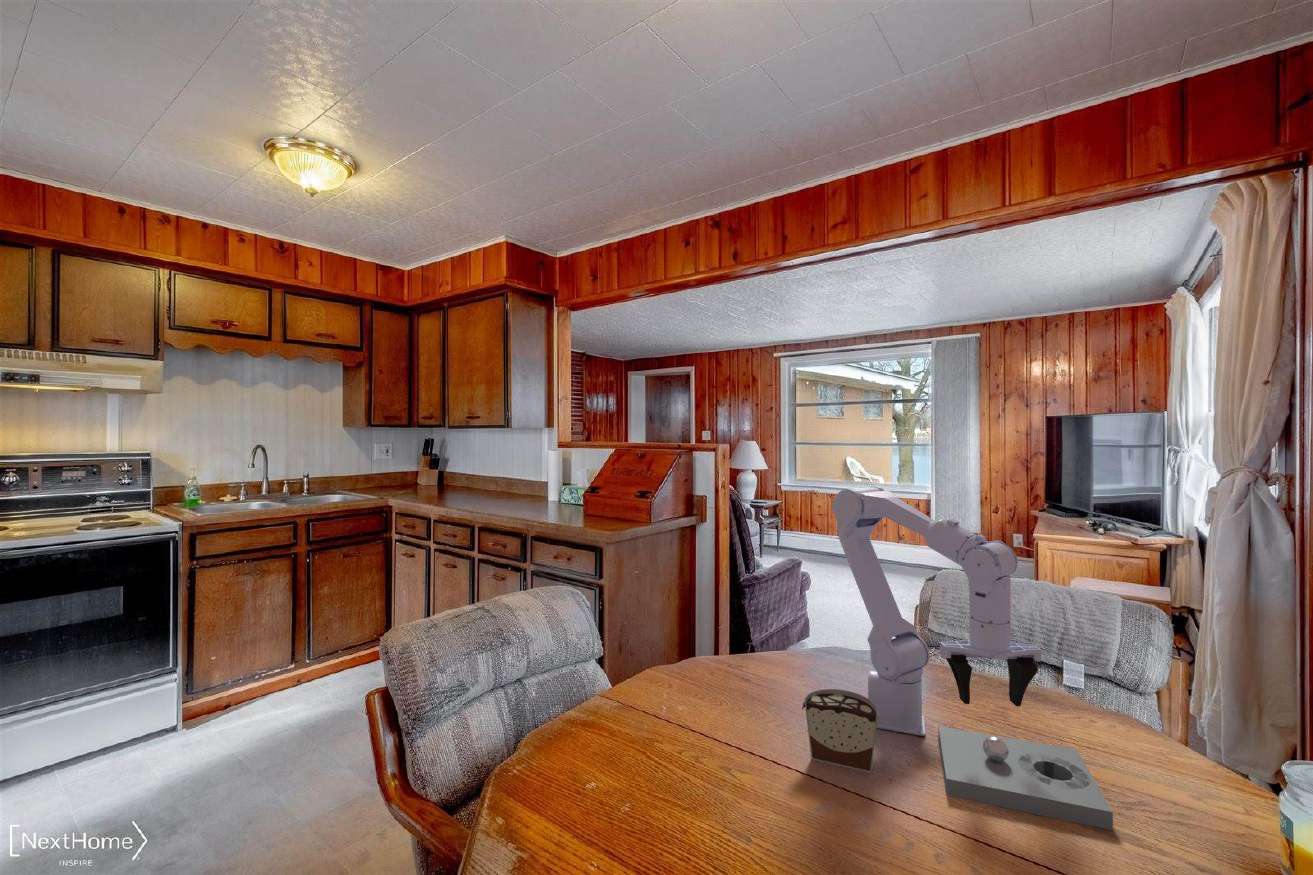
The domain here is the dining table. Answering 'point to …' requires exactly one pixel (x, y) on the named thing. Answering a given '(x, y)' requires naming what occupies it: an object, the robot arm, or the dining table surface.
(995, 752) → the ball
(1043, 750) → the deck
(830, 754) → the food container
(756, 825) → the dining table surface
